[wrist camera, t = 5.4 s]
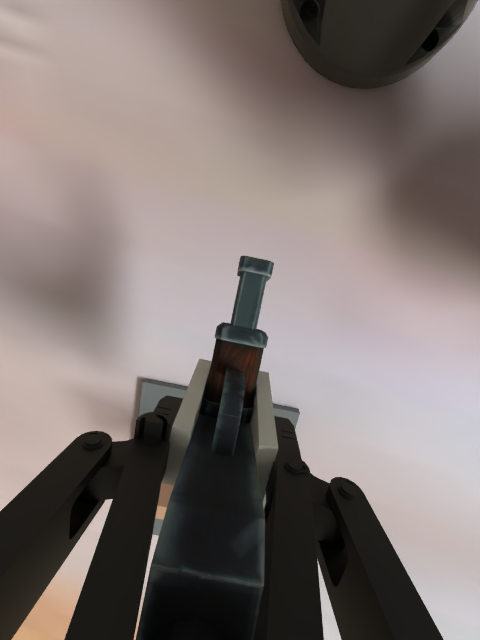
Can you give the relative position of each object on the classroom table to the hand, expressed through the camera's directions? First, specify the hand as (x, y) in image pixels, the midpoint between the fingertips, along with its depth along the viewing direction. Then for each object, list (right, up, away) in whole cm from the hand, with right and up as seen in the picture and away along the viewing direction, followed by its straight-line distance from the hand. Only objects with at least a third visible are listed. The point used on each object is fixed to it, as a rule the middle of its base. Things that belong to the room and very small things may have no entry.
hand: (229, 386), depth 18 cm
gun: (0, 0, +2) cm, 2 cm away
